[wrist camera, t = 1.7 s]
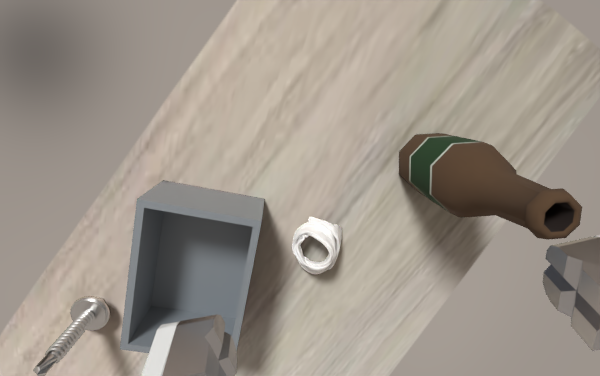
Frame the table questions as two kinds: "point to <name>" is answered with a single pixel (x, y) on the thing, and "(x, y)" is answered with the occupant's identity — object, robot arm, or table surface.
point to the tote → (189, 259)
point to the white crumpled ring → (325, 235)
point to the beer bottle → (484, 185)
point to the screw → (75, 330)
